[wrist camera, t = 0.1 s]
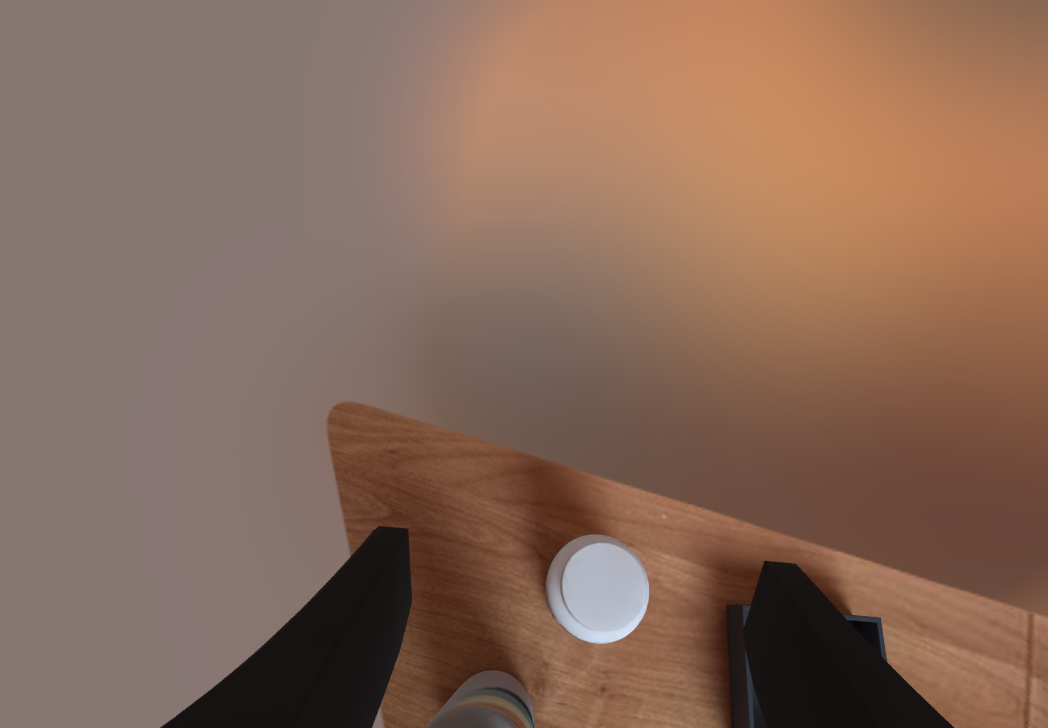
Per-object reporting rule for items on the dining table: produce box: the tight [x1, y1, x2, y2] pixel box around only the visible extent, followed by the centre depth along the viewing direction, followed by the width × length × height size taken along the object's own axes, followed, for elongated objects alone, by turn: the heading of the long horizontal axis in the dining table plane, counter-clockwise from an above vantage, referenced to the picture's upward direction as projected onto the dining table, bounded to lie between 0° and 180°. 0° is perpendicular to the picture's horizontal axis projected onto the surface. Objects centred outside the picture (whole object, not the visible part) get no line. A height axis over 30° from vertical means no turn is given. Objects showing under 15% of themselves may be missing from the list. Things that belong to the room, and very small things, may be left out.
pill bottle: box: [545, 534, 649, 643], centre depth 36 cm, size 6×6×11 cm
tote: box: [726, 605, 887, 728], centre depth 37 cm, size 9×9×3 cm
